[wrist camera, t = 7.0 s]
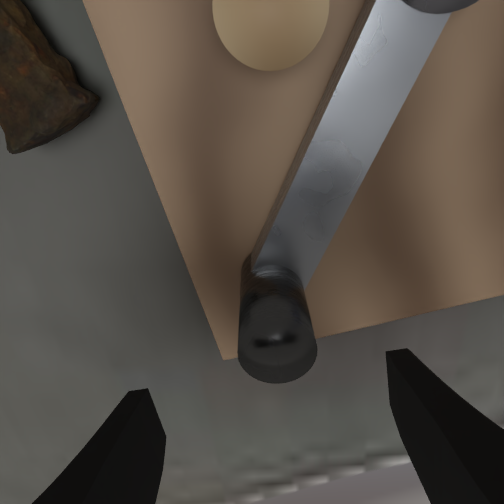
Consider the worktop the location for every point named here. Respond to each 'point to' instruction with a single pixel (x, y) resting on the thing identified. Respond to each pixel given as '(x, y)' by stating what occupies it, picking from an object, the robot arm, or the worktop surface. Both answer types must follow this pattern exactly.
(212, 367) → the worktop surface
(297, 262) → the lever
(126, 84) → the board
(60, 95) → the hand tool
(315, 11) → the beige cylinder plug
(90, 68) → the worktop surface
